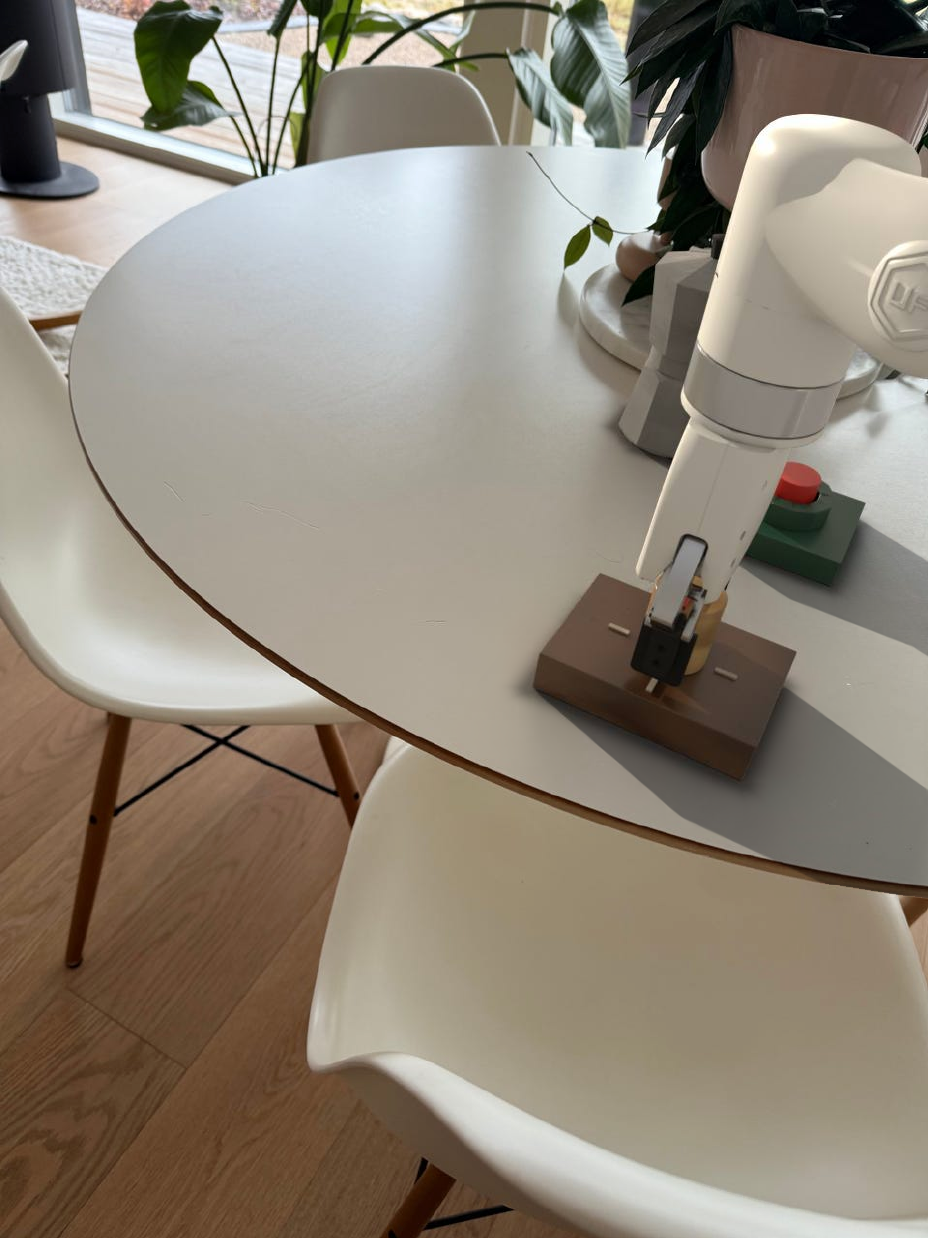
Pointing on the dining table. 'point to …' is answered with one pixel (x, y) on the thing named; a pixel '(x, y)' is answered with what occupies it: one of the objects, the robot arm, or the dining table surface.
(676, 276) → the coffeepot
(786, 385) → the robot arm
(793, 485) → the button
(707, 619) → the dial
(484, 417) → the dining table surface
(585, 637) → the panel
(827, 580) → the button box
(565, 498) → the dining table surface
